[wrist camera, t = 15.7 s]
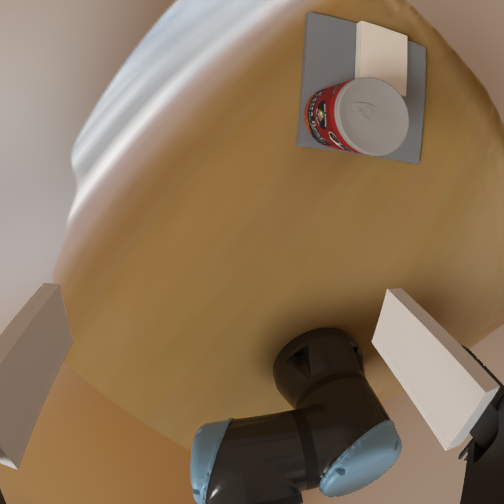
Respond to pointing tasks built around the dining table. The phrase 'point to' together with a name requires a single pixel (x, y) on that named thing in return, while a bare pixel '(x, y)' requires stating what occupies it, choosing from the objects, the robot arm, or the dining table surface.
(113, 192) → the dining table surface
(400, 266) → the dining table surface
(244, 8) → the dining table surface
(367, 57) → the tile
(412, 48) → the slate board
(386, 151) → the canned food
